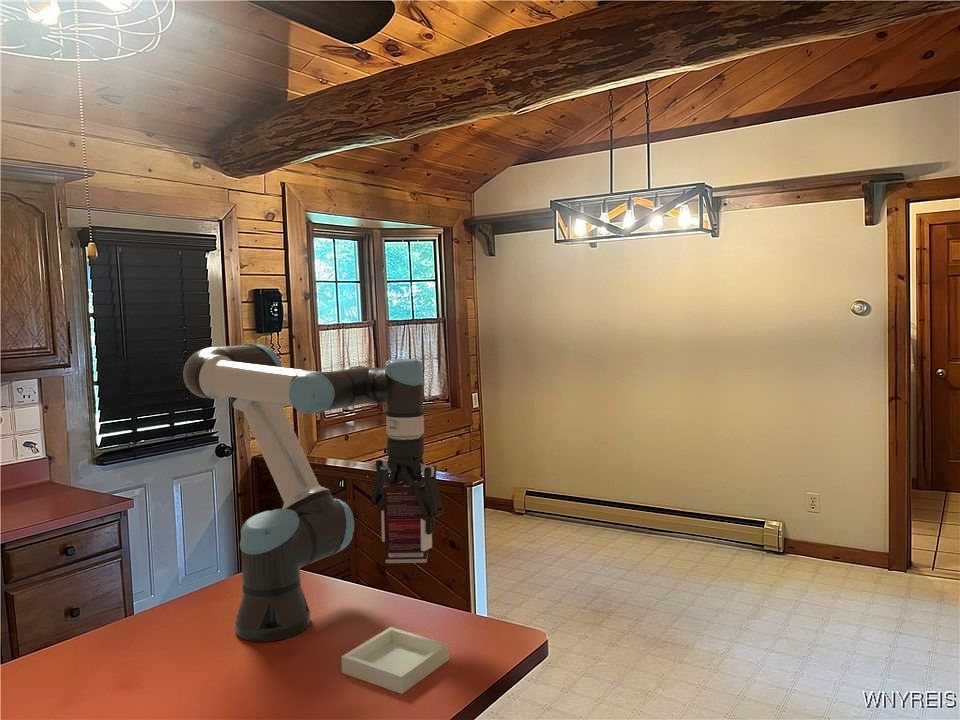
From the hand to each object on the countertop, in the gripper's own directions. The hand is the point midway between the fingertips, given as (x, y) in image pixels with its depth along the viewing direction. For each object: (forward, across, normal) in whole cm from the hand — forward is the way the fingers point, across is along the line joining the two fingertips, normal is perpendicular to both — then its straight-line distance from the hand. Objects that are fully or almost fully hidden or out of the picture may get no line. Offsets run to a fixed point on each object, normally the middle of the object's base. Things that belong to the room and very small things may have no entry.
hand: (406, 544), depth 148 cm
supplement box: (+3, 0, 0) cm, 3 cm away
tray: (+18, +8, -13) cm, 23 cm away
